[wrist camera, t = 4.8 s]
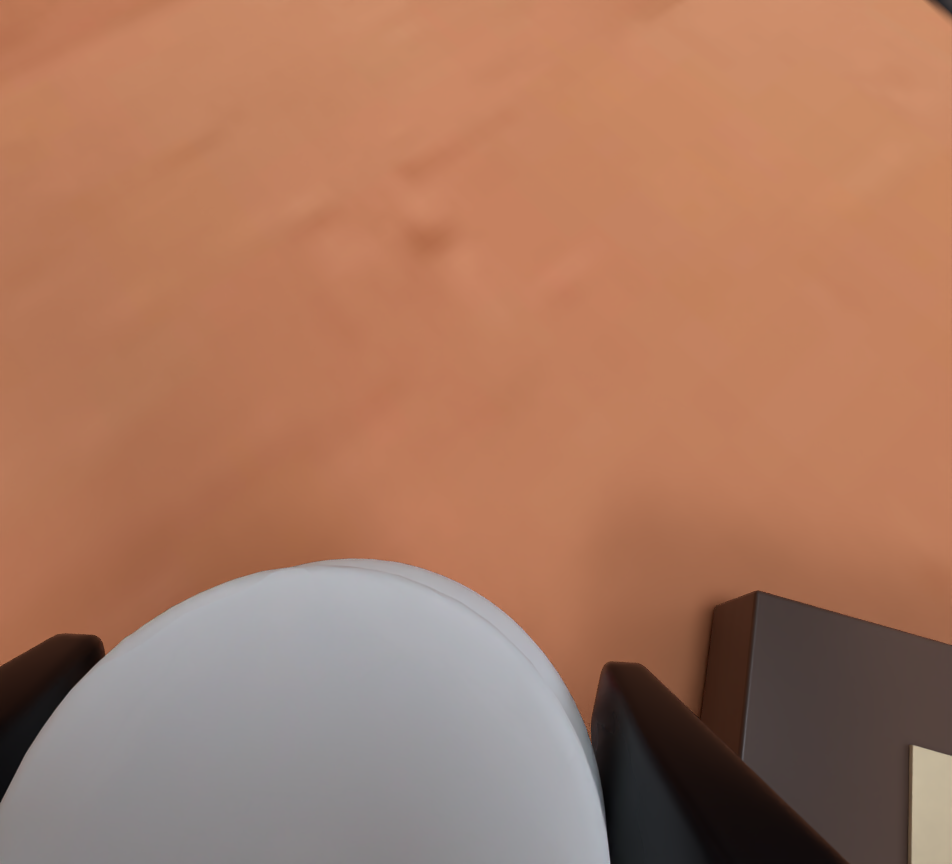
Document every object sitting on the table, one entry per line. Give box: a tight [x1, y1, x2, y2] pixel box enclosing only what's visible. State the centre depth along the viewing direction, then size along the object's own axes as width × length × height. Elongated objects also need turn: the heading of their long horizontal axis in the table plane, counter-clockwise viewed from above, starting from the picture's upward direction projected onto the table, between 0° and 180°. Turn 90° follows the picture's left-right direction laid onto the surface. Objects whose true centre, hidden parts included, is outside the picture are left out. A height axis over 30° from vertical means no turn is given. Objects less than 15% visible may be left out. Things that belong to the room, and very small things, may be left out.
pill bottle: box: [0, 559, 610, 864], centre depth 9 cm, size 5×5×10 cm
